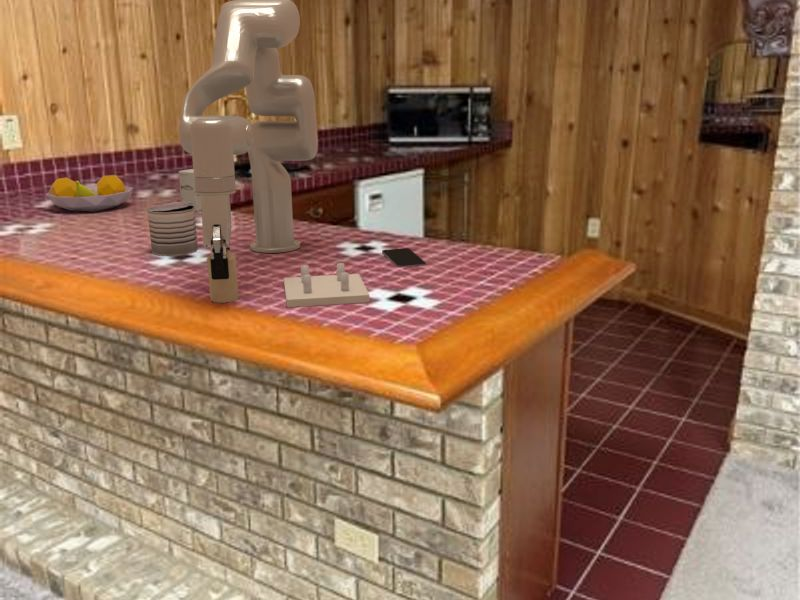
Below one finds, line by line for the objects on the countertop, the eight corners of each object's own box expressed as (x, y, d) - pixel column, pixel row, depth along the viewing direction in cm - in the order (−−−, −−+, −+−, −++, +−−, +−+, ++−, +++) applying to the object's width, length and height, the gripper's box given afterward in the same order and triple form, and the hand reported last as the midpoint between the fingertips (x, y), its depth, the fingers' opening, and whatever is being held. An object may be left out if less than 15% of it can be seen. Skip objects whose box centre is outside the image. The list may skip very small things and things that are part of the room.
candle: (229, 293, 152) (225, 245, 149) (244, 299, 148) (240, 250, 145) (205, 299, 148) (200, 250, 145) (219, 305, 144) (215, 255, 141)
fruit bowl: (76, 201, 262) (71, 168, 258) (148, 202, 258) (145, 169, 255) (27, 215, 235) (21, 180, 232) (107, 217, 232) (103, 181, 228)
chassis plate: (284, 284, 157) (282, 261, 156) (358, 280, 160) (358, 258, 159) (287, 307, 142) (285, 282, 141) (369, 302, 145) (369, 277, 144)
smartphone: (397, 266, 170) (380, 249, 184) (397, 271, 171) (380, 254, 184) (427, 263, 172) (408, 247, 186) (427, 268, 173) (408, 252, 186)
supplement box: (181, 209, 244) (177, 170, 241) (198, 206, 250) (195, 168, 246) (196, 211, 240) (192, 172, 237) (213, 208, 246) (210, 169, 242)
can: (185, 257, 181) (180, 208, 178) (142, 255, 183) (137, 207, 180) (206, 246, 192) (202, 200, 188) (165, 245, 194) (161, 199, 191)
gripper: (198, 180, 148) (205, 263, 153) (191, 192, 132) (198, 285, 137) (236, 179, 150) (242, 262, 155) (234, 191, 133) (240, 283, 138)
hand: (221, 272), depth 146 cm, fingers open, 9 cm apart
